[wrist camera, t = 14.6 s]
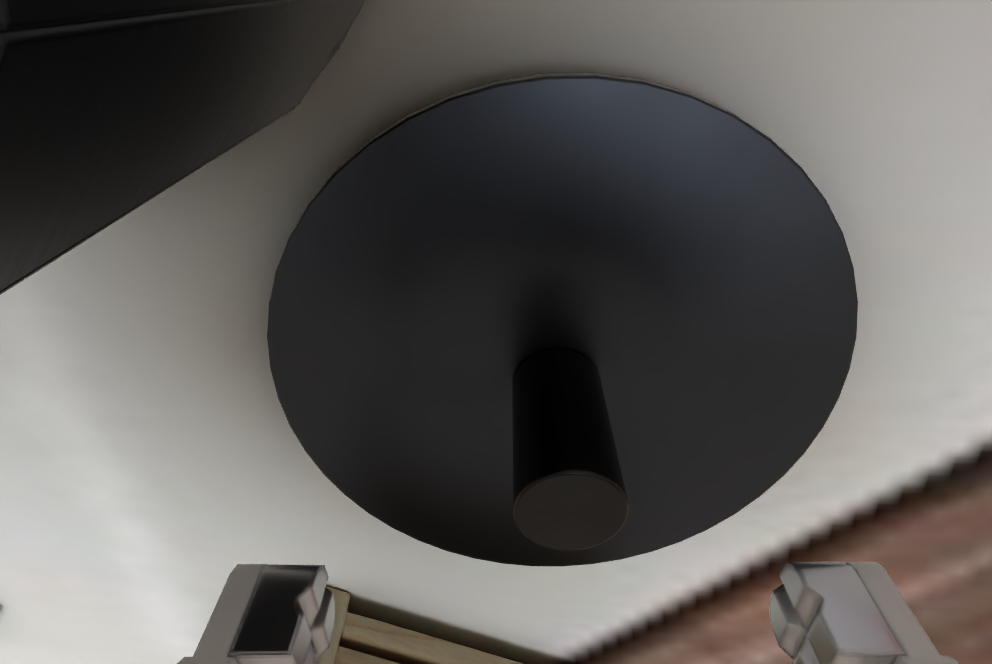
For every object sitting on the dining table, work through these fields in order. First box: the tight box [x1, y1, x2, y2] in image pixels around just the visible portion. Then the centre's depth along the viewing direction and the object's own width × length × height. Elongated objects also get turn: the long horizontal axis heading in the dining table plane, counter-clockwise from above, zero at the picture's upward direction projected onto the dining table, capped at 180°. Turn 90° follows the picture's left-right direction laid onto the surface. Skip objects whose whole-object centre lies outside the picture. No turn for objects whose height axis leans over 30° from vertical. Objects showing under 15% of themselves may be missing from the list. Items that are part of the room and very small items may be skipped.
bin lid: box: [267, 73, 858, 566], centre depth 15 cm, size 16×16×6 cm
